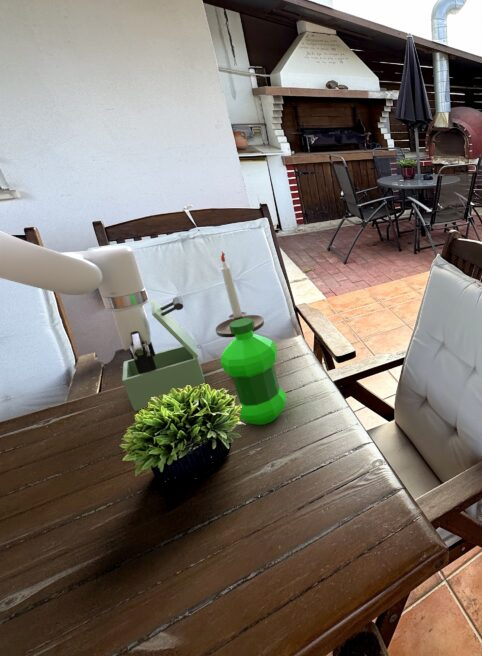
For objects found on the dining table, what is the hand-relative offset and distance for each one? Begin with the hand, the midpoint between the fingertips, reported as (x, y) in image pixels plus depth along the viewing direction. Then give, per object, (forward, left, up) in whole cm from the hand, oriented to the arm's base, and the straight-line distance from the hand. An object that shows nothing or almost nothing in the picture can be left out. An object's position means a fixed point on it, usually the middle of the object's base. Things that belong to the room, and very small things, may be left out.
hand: (147, 363), depth 99 cm
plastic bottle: (+25, -22, -9) cm, 35 cm away
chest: (+2, +1, -9) cm, 9 cm away
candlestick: (+20, +2, -9) cm, 22 cm away
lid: (+6, +2, +7) cm, 10 cm away
